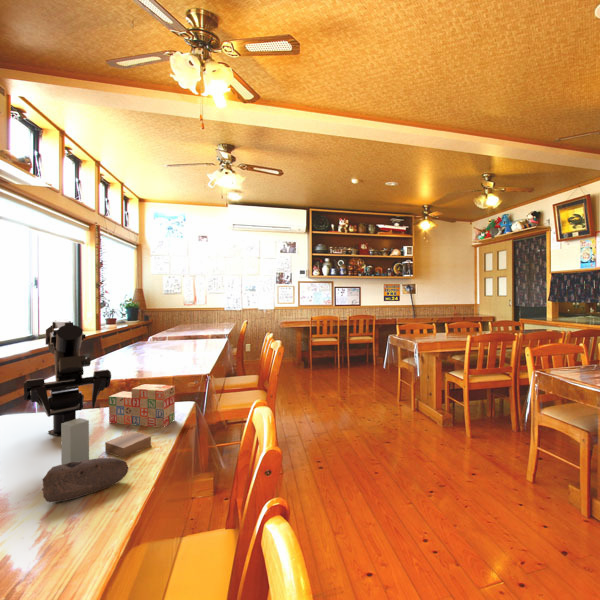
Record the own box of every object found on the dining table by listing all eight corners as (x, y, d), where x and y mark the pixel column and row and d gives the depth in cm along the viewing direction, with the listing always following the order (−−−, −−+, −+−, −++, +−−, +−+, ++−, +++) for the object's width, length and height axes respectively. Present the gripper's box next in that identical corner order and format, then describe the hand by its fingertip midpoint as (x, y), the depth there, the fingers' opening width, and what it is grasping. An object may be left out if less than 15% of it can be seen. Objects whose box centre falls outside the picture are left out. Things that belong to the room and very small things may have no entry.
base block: (105, 453, 83) (105, 442, 83) (132, 441, 91) (132, 431, 91) (123, 459, 80) (123, 448, 80) (150, 446, 87) (150, 436, 87)
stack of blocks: (108, 423, 104) (108, 387, 104) (122, 416, 110) (122, 382, 110) (163, 427, 99) (163, 390, 100) (175, 420, 106) (175, 385, 106)
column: (61, 474, 73) (61, 423, 73) (79, 465, 76) (79, 417, 76) (70, 478, 71) (70, 426, 71) (89, 469, 74) (88, 420, 75)
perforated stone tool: (128, 475, 72) (127, 446, 72) (129, 487, 67) (128, 455, 67) (46, 497, 64) (45, 464, 64) (40, 512, 59) (40, 476, 59)
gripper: (23, 348, 77) (22, 402, 68) (109, 341, 89) (117, 386, 81) (24, 374, 83) (23, 427, 74) (105, 364, 95) (112, 409, 87)
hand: (72, 411), depth 79 cm, fingers open, 9 cm apart
